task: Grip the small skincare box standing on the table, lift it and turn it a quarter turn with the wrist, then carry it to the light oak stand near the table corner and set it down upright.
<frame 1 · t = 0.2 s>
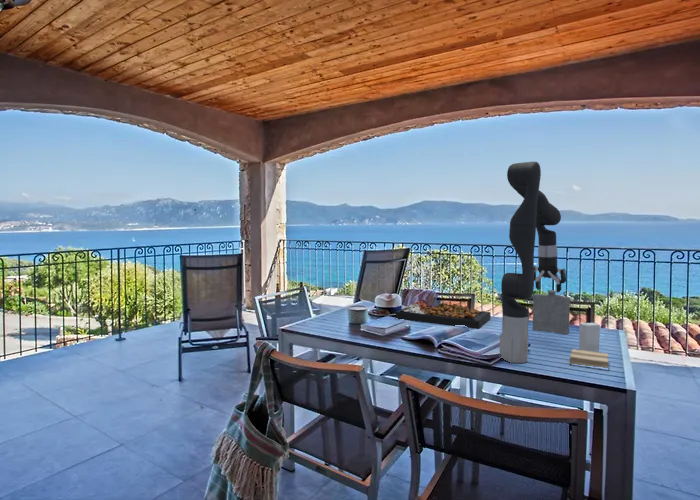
hand: (548, 290, 189), 22 cm above the table, tool pointing down, fingers open, 8 cm apart
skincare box: (588, 354, 171), on the table
food platter: (442, 320, 233), on the table
hip flask: (550, 332, 205), on the table
oak stand: (589, 363, 159), on the table
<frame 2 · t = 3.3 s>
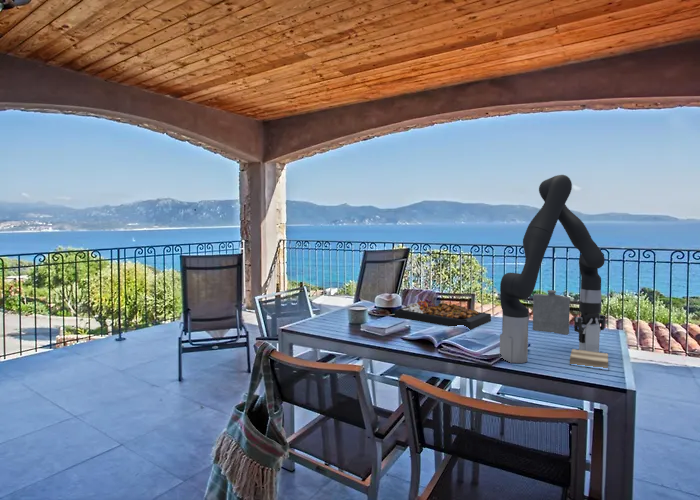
hand: (589, 341, 171), 5 cm above the table, tool pointing down, fingers closed on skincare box, 6 cm apart
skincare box: (588, 354, 171), on the table, touching gripper
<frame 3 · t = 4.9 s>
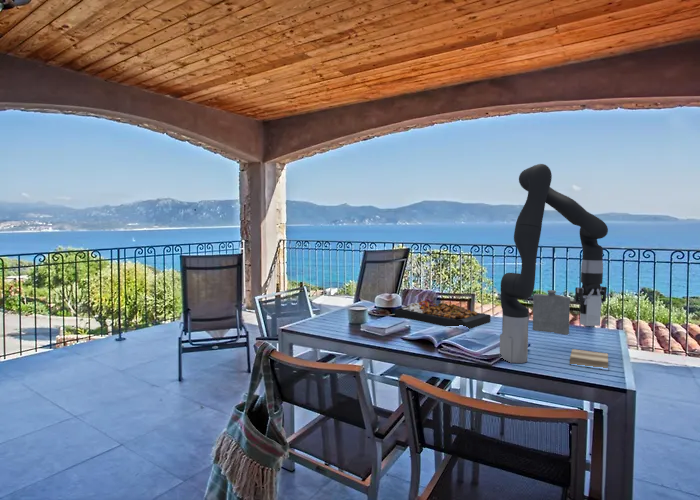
hand: (590, 313, 170), 16 cm above the table, tool pointing down, fingers closed on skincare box, 6 cm apart
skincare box: (589, 325, 170), point 11 cm above the table, touching gripper
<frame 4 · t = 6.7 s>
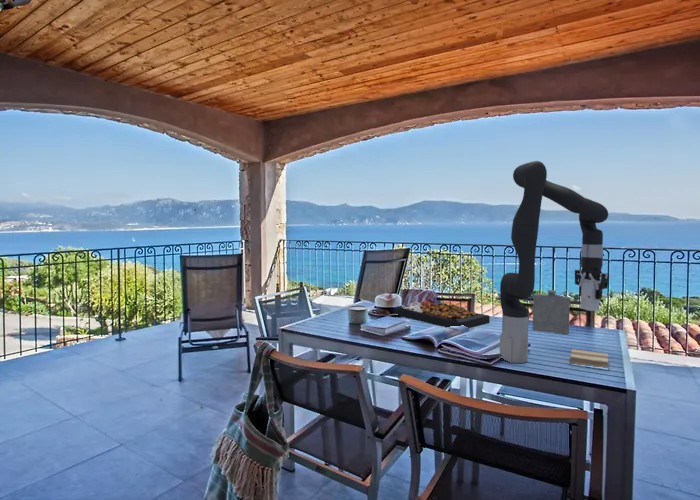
hand: (590, 297, 170), 23 cm above the table, tool pointing down, fingers closed on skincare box, 6 cm apart
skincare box: (589, 310, 170), point 18 cm above the table, touching gripper
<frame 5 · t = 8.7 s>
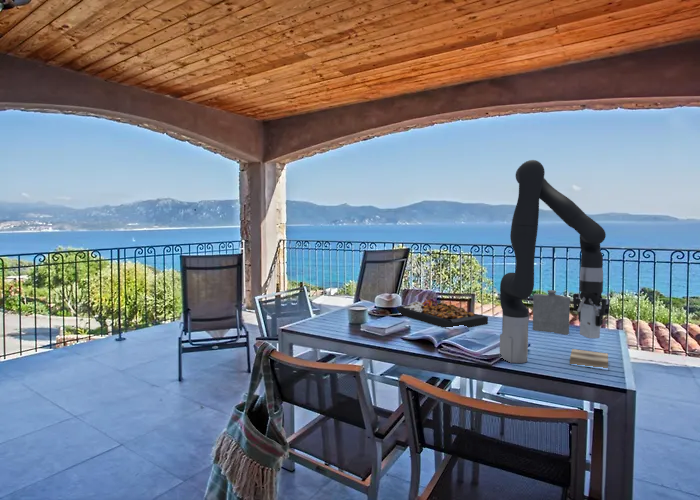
hand: (590, 323, 159), 15 cm above the table, tool pointing down, fingers closed on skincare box, 6 cm apart
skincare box: (590, 336, 159), point 10 cm above the table, touching gripper
when the fingers open (9 cm above the table, at t = 10.5 s): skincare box drops 1 cm, resting on oak stand.
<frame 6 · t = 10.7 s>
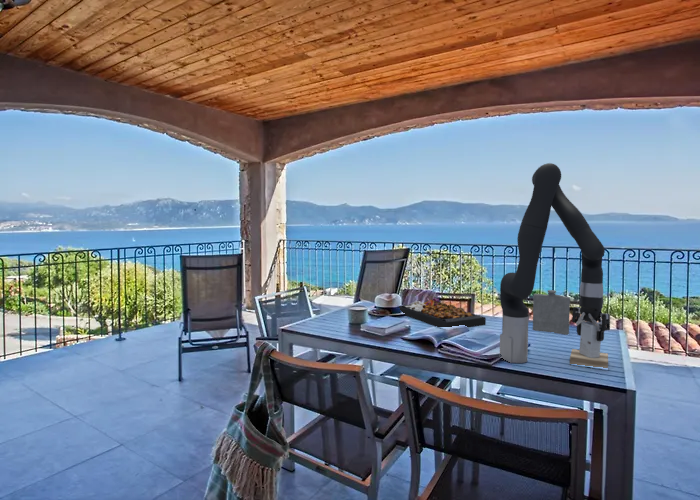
hand: (589, 338, 159), 10 cm above the table, tool pointing down, fingers open, 8 cm apart
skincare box: (589, 356, 159), point 3 cm above the table, touching oak stand
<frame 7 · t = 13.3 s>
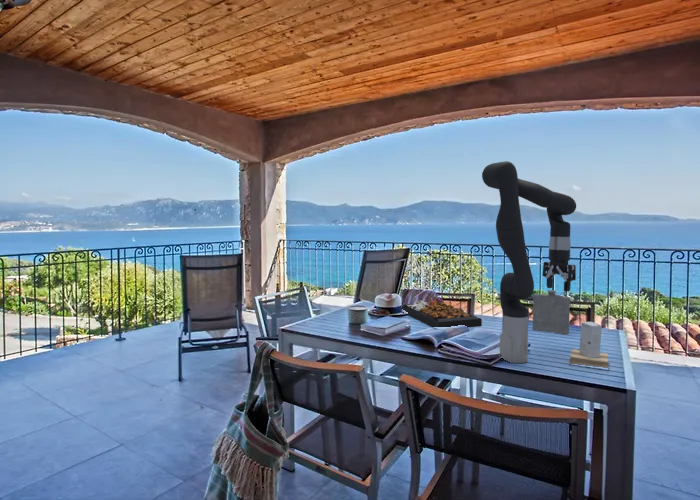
hand: (558, 289, 168), 26 cm above the table, tool pointing down, fingers open, 8 cm apart
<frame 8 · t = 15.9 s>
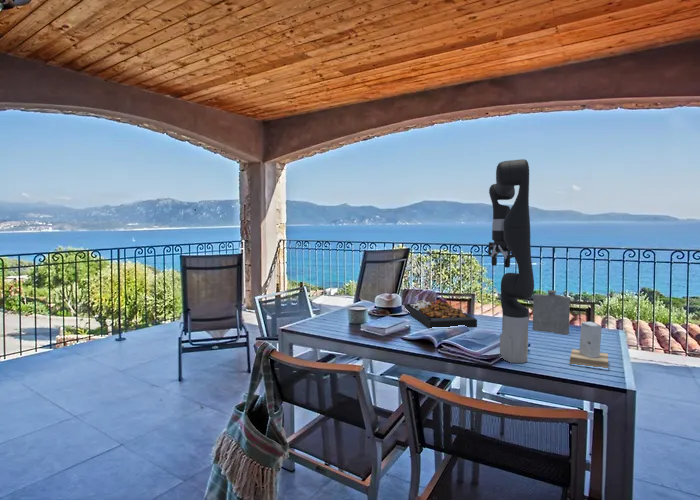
hand: (500, 266, 188), 33 cm above the table, tool pointing down, fingers open, 8 cm apart
at the end: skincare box inside the target area on the oak stand (0.2 cm from its centre), point 2.8 cm above the oak stand's base; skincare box tilted 0°; the gripper is holding nothing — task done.
